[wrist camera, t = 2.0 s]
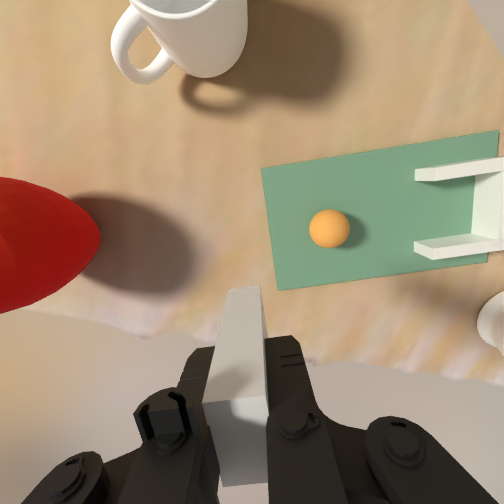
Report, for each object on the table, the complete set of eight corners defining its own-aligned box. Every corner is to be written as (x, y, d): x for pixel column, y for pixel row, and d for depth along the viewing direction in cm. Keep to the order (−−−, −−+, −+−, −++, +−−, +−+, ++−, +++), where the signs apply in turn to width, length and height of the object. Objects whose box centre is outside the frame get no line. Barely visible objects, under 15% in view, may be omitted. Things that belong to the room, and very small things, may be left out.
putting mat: (260, 168, 28) (261, 168, 27) (493, 131, 26) (499, 129, 26) (277, 288, 31) (278, 290, 31) (482, 260, 30) (486, 262, 29)
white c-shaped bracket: (415, 169, 27) (435, 167, 24) (488, 157, 26) (519, 154, 23) (413, 251, 29) (432, 259, 26) (481, 241, 29) (508, 249, 26)
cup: (266, 30, 24) (274, -72, 14) (183, 129, 27) (141, 99, 17) (200, -49, 23) (159, -222, 13) (118, 63, 25) (31, -11, 15)
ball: (304, 210, 28) (312, 215, 24) (341, 204, 28) (354, 208, 24) (307, 245, 29) (315, 255, 25) (343, 240, 29) (356, 249, 25)
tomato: (18, 270, 31) (-169, 341, 17) (2, 171, 28) (-241, 163, 14) (123, 279, 31) (20, 356, 17) (118, 182, 28) (-10, 184, 14)
